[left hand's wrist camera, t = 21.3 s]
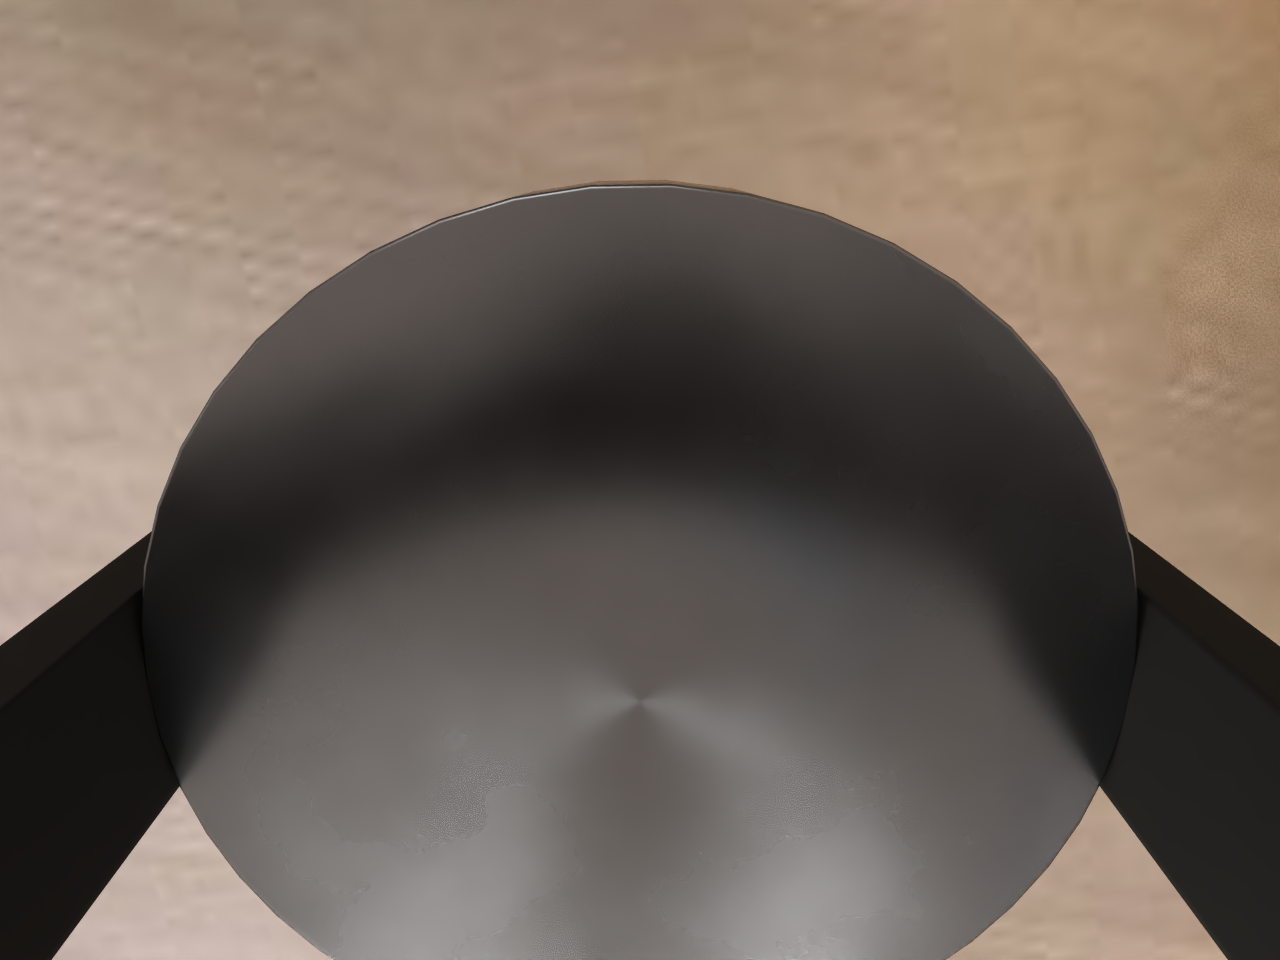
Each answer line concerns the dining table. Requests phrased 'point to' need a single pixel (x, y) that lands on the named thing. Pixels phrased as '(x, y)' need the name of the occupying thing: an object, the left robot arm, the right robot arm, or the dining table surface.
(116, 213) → the dining table surface
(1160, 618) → the left robot arm
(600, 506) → the lid
